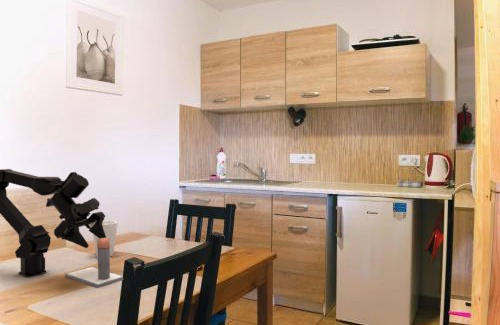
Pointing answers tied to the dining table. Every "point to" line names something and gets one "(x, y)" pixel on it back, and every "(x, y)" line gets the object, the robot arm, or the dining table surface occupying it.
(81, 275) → the notebook
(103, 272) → the cylinder
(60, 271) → the dining table surface
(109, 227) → the foam cup
